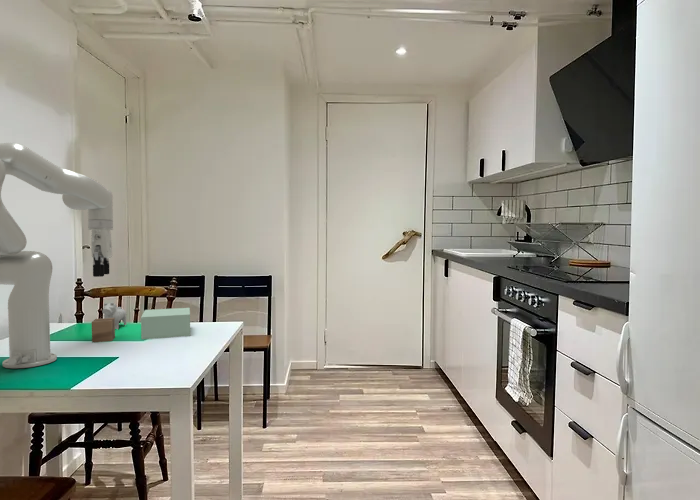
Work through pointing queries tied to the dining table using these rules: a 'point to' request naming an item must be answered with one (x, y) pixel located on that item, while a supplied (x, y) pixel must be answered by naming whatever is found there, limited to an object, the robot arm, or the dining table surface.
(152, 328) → the sage box
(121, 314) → the white dog figurine
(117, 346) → the dining table surface
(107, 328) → the walnut block
